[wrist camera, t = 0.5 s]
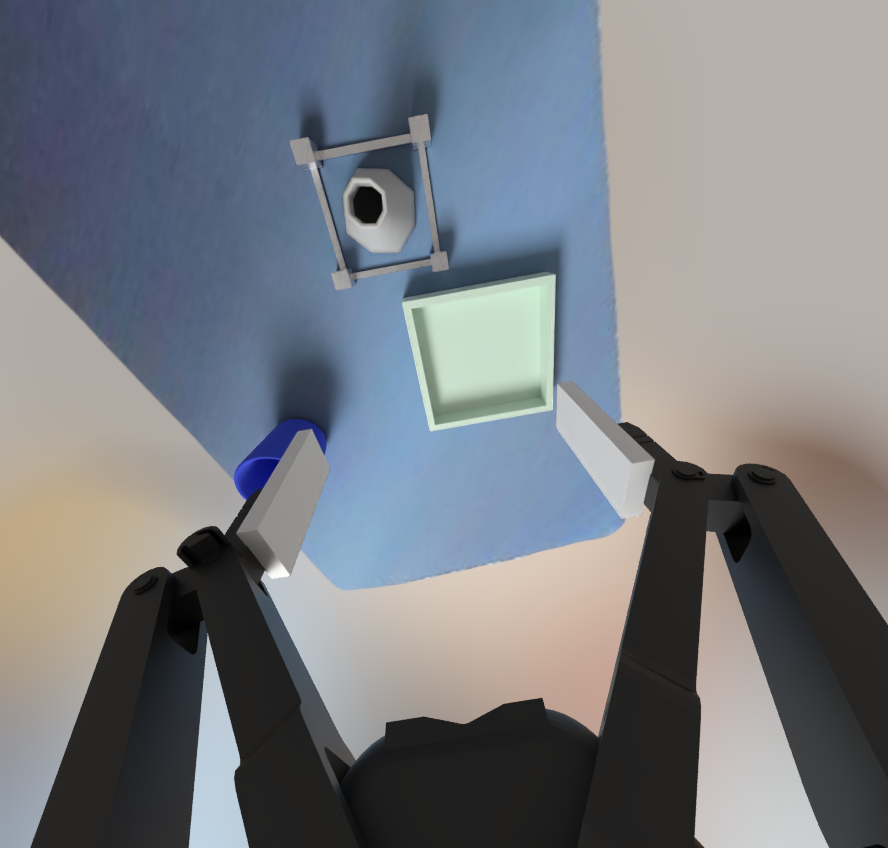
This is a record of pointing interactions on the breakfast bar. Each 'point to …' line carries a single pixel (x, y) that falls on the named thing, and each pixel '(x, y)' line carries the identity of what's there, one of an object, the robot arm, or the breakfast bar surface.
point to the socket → (312, 158)
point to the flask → (378, 210)
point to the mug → (271, 455)
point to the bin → (484, 349)
